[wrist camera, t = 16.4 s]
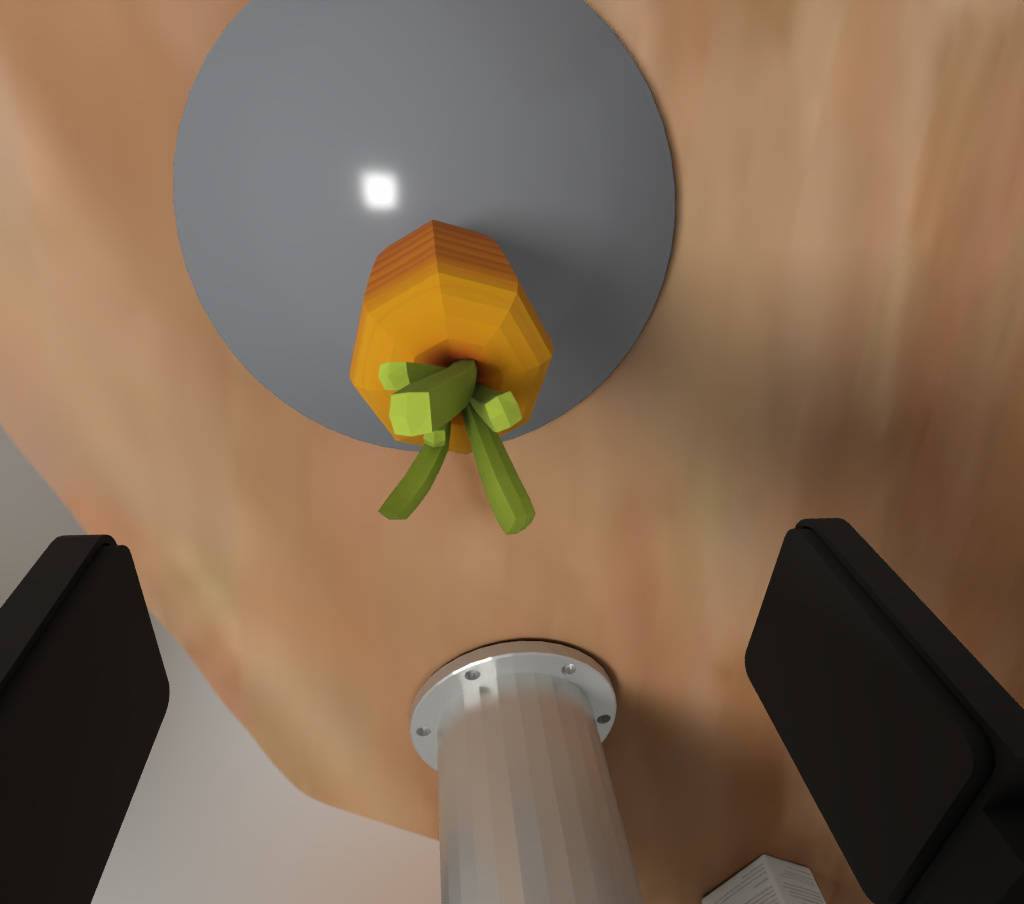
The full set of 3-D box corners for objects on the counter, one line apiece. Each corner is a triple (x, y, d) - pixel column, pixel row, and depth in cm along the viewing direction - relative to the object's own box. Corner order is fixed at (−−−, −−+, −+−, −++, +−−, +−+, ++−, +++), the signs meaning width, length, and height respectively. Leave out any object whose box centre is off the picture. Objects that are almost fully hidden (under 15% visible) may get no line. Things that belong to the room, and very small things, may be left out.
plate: (721, 325, 28) (730, 333, 28) (365, 500, 31) (363, 513, 30) (552, -192, 19) (558, -202, 18) (60, 122, 22) (46, 125, 21)
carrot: (510, 304, 26) (606, 556, 13) (384, 321, 25) (357, 596, 13) (497, 169, 23) (600, 321, 10) (355, 186, 23) (286, 365, 10)
